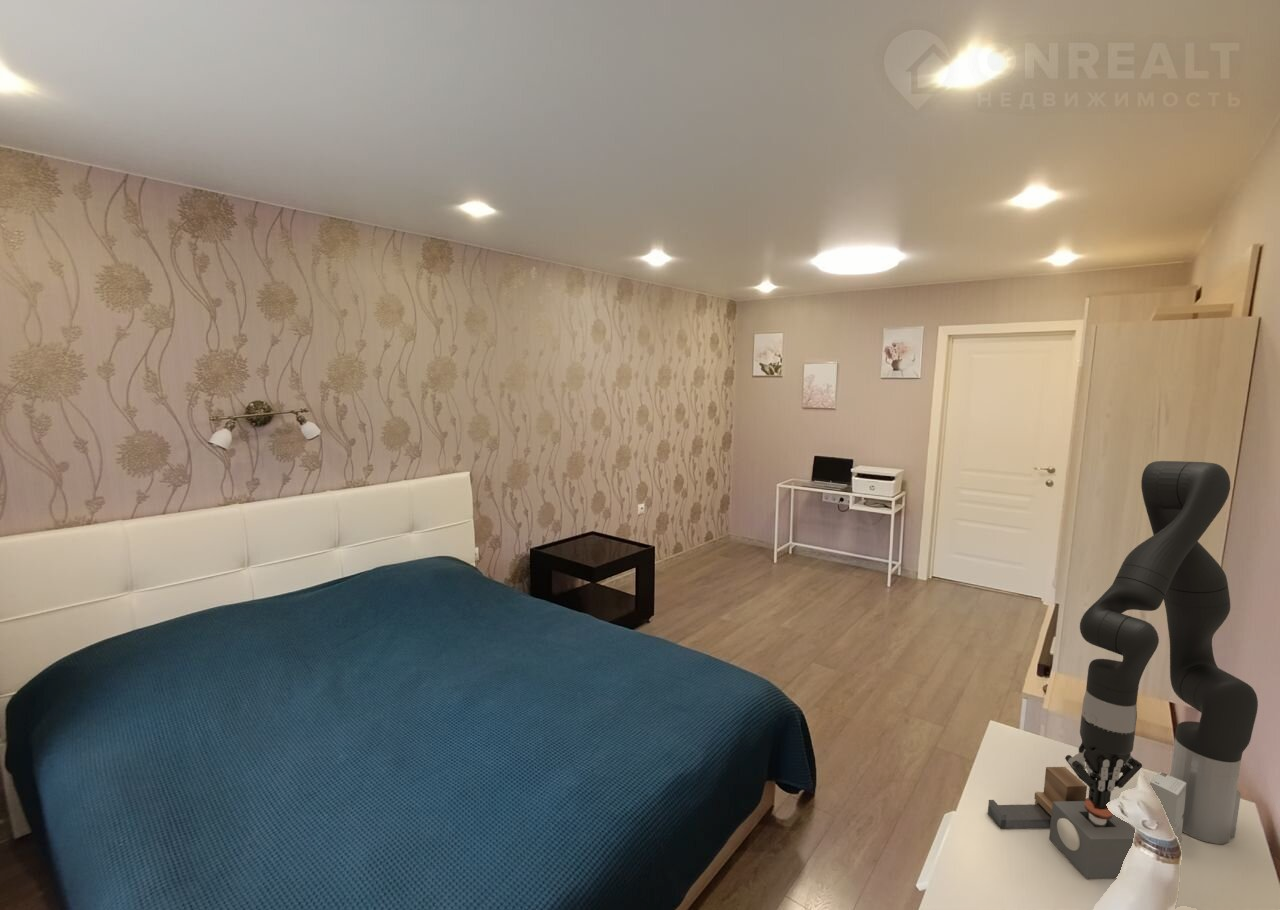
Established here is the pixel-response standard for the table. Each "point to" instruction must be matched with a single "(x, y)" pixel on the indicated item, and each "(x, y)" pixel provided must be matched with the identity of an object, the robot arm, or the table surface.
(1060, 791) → the stepped wooden block
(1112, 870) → the cabinet
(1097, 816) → the plunger
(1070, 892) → the table surface
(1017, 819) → the rail
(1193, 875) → the table surface
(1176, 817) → the skincare box
